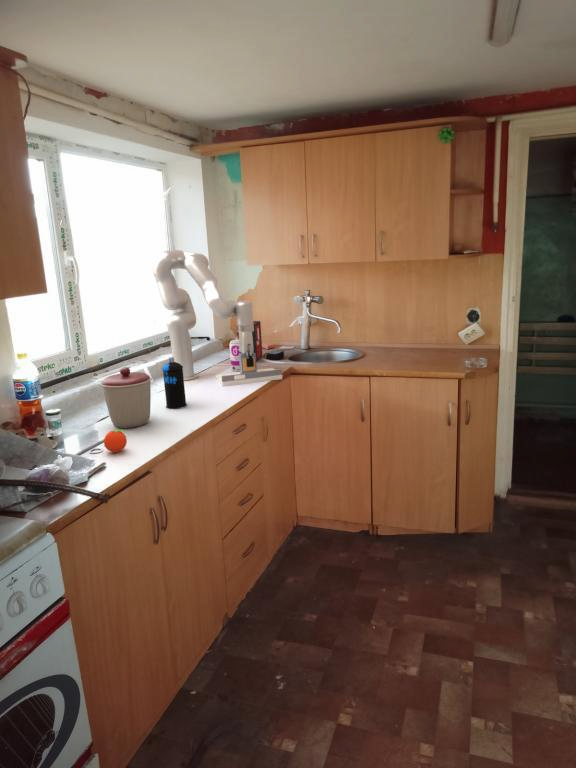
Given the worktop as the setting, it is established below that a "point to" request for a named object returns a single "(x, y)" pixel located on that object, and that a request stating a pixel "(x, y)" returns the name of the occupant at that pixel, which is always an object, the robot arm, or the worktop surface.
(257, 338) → the cleaning product box
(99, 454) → the worktop surface
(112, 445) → the clementine
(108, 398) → the canister
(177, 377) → the aerosol can
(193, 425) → the worktop surface
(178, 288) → the robot arm
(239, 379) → the shelf board
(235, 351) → the supplement can
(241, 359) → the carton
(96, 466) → the worktop surface
